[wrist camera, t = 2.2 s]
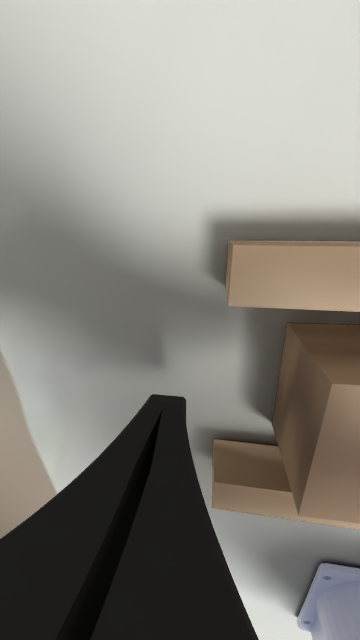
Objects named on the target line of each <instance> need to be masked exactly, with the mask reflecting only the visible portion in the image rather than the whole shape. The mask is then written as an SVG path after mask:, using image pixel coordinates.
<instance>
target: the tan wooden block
mask: <svg viewBox="0 0 360 640" xmlns="http://www.w3.org/2000/svg"><path fill="white" fill-rule="evenodd" d="M272 425H273V429H274V432H275V436H276V439H277V443H278V446H279V450H280V453H281V457H282V460H283V464H284V467H285V471H286V474H287V478H288V481H289V485H290V488H291V491H292V495H293V498H294V502H295V505H296V509H297V512H298V516H305V517H313V518H321V519H328V520H336V521H344V522H351V523H359V524H360V325H344V324H305V323H287V328H286V335H285V341H284V348H283V354H282V361H281V367H280V374H279V380H278V387H277V393H276V400H275V407H274V413H273V420H272Z"/></svg>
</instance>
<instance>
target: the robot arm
mask: <svg viewBox="0 0 360 640" xmlns="http://www.w3.org/2000/svg"><path fill="white" fill-rule="evenodd" d="M297 624H298V627H299V628H300V629H301V630H305V631H310V632H311V634H312V639H313V640H360V569H359V568H353V567H347V566H341V565H335V564H329V563H322V564H320V566H319V568H318V570H317V572H316V575H315V577H314V580H313V582H312V585H311V587H310V590H309V592H308V594H307V597H306V599H305V602H304V604H303V607H302V609H301V612H300V614H299V616H298V619H297ZM0 640H259V639H258V637H257V635H256V633H255V630H254V628H253V626H252V623H251V621H250V619H249V617H248V614H247V612H246V609H245V607H244V605H243V602H242V600H241V597H240V595H239V593H238V590H237V588H236V585H235V583H234V581H233V578H232V576H231V573H230V571H229V568H228V565H227V563H226V560H225V557H224V555H223V552H222V550H221V547H220V544H219V542H218V539H217V536H216V534H215V531H214V528H213V526H212V523H211V520H210V517H209V514H208V511H207V508H206V505H205V502H204V498H203V495H202V492H201V489H200V485H199V482H198V478H197V475H196V471H195V467H194V463H193V459H192V455H191V450H190V445H189V440H188V434H187V428H186V399H185V398H184V397H177V396H166V395H155V394H153V395H151V396H150V397H149V399H148V400H147V401H146V403H145V404H144V405H143V407H142V408H141V409H140V410H139V412H138V413H137V414H136V415H135V417H134V418H133V419H132V420H131V421H130V423H129V424H128V425H127V426H126V427H125V428H124V430H123V431H122V432H121V433H120V434H119V435H118V436H117V438H116V439H115V440H114V441H113V442H112V443H111V444H110V445H109V446H108V447H107V448H106V449H105V450H104V451H103V452H102V453H101V454H100V455H99V457H98V458H97V459H96V460H94V461H93V462H92V463H91V464H90V465H89V466H88V467H87V468H86V469H85V470H84V471H83V472H82V473H81V474H80V475H79V476H78V477H77V478H75V479H74V480H73V481H72V482H71V483H70V484H69V485H68V486H67V487H65V488H64V489H63V490H62V491H61V492H59V493H58V494H57V495H56V496H55V497H54V498H52V499H51V500H50V501H49V502H48V503H47V504H45V505H44V506H43V507H42V508H40V509H39V510H38V511H37V512H35V513H34V514H33V515H32V516H31V517H29V518H28V519H26V520H25V521H24V522H23V523H21V524H20V525H18V526H17V527H16V528H14V529H13V530H12V531H11V532H9V533H8V534H6V535H5V536H4V537H2V538H1V539H0Z"/></svg>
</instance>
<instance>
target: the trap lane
mask: <svg viewBox="0 0 360 640" xmlns="http://www.w3.org/2000/svg"><path fill="white" fill-rule="evenodd" d="M225 290H226V296H227V301H228V306H234V307H257V308H281V309H305V310H328V311H352V312H360V241H245V240H229V244H228V258H227V271H226V285H225ZM212 508H215V509H222V510H229V511H235V512H242V513H249V514H256V515H262V516H269V517H276V518H283V519H289V520H296V521H303V522H310V523H317V524H323V525H330V526H337V527H344V528H350V529H357V530H360V524H359V523H351V522H344V521H336V520H328V519H321V518H313V517H305V516H298V512H297V509H296V505H295V502H294V498H293V495H292V491H291V488H290V485H289V481H288V478H287V474H286V471H285V467H284V464H283V460H282V457H281V453H280V450H279V446H271V445H262V444H253V443H244V442H235V441H226V440H217V439H214V449H213V462H212Z"/></svg>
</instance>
